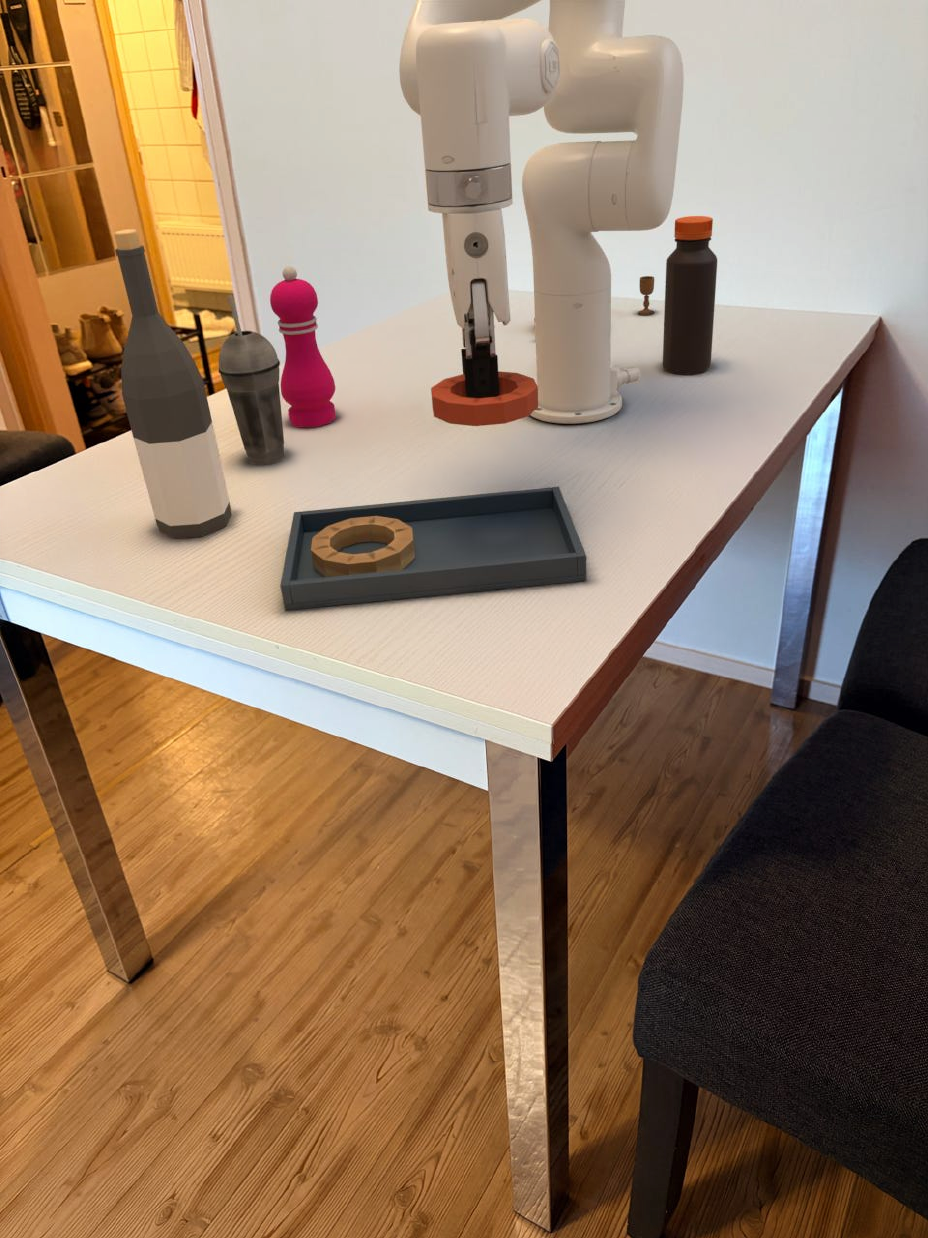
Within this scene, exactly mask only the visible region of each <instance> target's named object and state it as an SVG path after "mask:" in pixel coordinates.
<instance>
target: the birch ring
mask: <svg viewBox="0 0 928 1238" xmlns="http://www.w3.org/2000/svg"><path fill="white" fill-rule="evenodd" d="M372 541H373V542H380V543H386V544H389V545H388V546H387V547H385V548H382V549H379V550H377V551H374V552H371V553H363V554H347V553H341V552H338V551H339V550H341V549H342V548H344V547H347V546H350V545H353V544H355V543H362V542H372ZM311 554H312V560H313V566H314V568H315V569H316V570H317V571H318V572H320V573H321V574H322V575H323V576H325V577H335V576H345V575H355V574H365V573H375V572H385V571H396V570H403V569H404V568H405V567H406V566H407V565H408V564H409V563H410V562H411V561H412V560H413V559H414V558H415V550H414V539H413V530H412V528H411V527H410V526H408V525H407V524H405V523H403V522H402V521H400V520H399V519H394V518H387V517H380V516H369V517H359V518H350V519H347V520H344V521H341V522H338V523H335V524H332V525H329V526H327V527H325V528H324V529H323V530H322V531H320V532H319V533H318V534H317V535H315V536H314V537H313V538H312V545H311Z"/></svg>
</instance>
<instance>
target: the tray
mask: <svg viewBox="0 0 928 1238" xmlns="http://www.w3.org/2000/svg"><path fill="white" fill-rule="evenodd" d="M369 516H380V517H387V518H394V519H399V520H400V521H402V522H403V523H405V524H407V525H408V526H410V527H411V528H412V530H413V539H414V550H415V558H414V559H413V560H412V561H411V562H410V563H409V564H408V565H407V566H406V567H405V568H404V569H403V570H396V571H385V572H375V573H365V574H355V575H345V576H335V577H325V576H323V575H322V574H321V573H320V572H318V571H317V570H316V569H315V568H314V566H313V560H312V554H311V545H312V538H313V537H314V536H315V535H317V534H318V533H319V532H320V531H322V530H323V529H324V528H325V527H327V526H329V525H332V524H335V523H338V522H341V521H344V520H347V519H350V518H359V517H369ZM388 545H389V544H386V543H380V542H373V541H372V542H362V543H355V544H353V545H350V546H347V547H344V548H342V549H341V550H339V551H338V552H341V553H347V554H363V553H371V552H374V551H377V550H379V549H382V548H385V547H387V546H388ZM583 581H587V554H586V552H585V549H584V546H583V545H582V542H581V539H580V537H579V533H578V531H577V529H576V527H575V524H574V521H573V519H572V516H571V513H570V511H569V508H568V506H567V503H566V501H565V498H564V496H563V493H562V491H561V489H560V486H551V487H540V488H539V487H538V488H531V489H520V490H519V489H518V490H510V491H509V490H508V491H499V492H488V493H487V492H486V493H476V494H467V495H466V494H465V495H458V496H447V497H437V498H428V499H427V498H426V499H417V500H407V501H397V502H396V501H395V502H385V503H384V502H383V503H373V504H365V505H364V504H363V505H356V506H355V505H353V506H345V507H334V508H323V509H314V510H304V511H303V510H302V511H293V515H292V521H291V527H290V532H289V537H288V543H287V548H286V553H285V560H284V564H283V569H282V576H281V581H280V592H281V597H282V600H283V601H282V602H283V606H284V607H283V608H284V611H294V610H301V609H302V610H303V609H313V608H323V607H332V606H333V607H334V606H342V605H354V604H363V603H364V604H365V603H374V602H383V601H384V602H385V601H393V600H394V601H395V600H403V599H414V598H424V597H433V596H434V597H435V596H443V595H454V594H463V593H472V592H473V593H474V592H483V591H484V592H485V591H493V590H494V591H495V590H503V589H504V590H505V589H514V588H523V587H524V588H525V587H533V586H545V585H554V584H564V583H575V582H583Z"/></svg>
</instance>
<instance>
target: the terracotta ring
mask: <svg viewBox="0 0 928 1238" xmlns="http://www.w3.org/2000/svg"><path fill="white" fill-rule="evenodd" d="M498 376H499V396H497V397H488V398H467V397H466V389H465V374H463V373H462V374H458V375H454V376H451V377H448V378H444V379H442V380H441V381H439V382H438V383H436V384H435V385H433V386H431V388H430V393H431V402H432V403H431V404H432V412H433V413H432V414H433V417H434V418H436V419H439V420H441V421H442V422H444V423H448V425H449V424H450V425H460V426H468V427H483V426H492V425H493V426H494V425H504V424H508V423H511V422H515V421H517V420H521V419H524V418H527V417H529V416H531V415H530V414H531V413H532V412H533V411H535V410H536V409H537V408H538V387H537V381H536V380H535V378H533V377H531V376H529V375H524V374H522V373H519V372H512V371H500V370H498Z"/></svg>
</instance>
